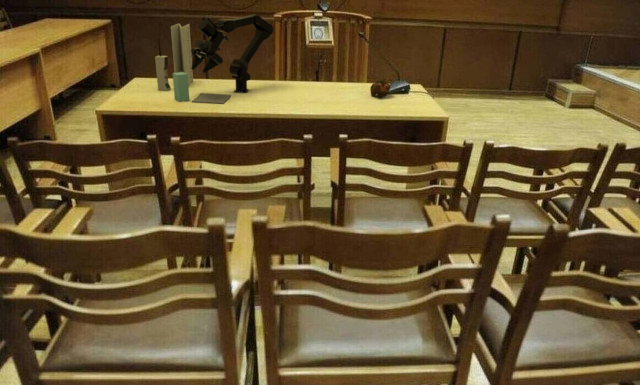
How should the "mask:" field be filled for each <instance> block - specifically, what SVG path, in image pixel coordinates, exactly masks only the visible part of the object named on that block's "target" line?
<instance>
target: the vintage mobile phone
mask: <svg viewBox="0 0 640 385" xmlns="http://www.w3.org/2000/svg"><path fill="white" fill-rule="evenodd" d="M157 40H158V54H159V55H156V56H154V59H155V61H154V62H155V71H156V81H157V90H158V91H162V92H168V91H170V90H171V89H172V88H171V86H170V83H169V75H168V67H169V56H168V55H162V50H161V41H160V38H158V39H157Z"/></svg>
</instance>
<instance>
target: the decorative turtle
mask: <svg viewBox="0 0 640 385" xmlns="http://www.w3.org/2000/svg"><path fill="white" fill-rule="evenodd" d="M369 90H370V95H371V97H374V96H376V95H377V96H378V97H379V98H380V99H382V98H384V97H386V96H388V94H389V92H390V90H391V85H390V84H389V83H388V82H386V81H385V80H377V81H374V83H372V84H371V86H370V89H369Z"/></svg>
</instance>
